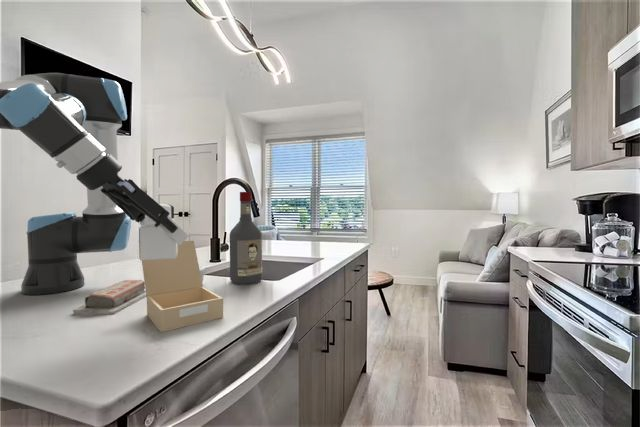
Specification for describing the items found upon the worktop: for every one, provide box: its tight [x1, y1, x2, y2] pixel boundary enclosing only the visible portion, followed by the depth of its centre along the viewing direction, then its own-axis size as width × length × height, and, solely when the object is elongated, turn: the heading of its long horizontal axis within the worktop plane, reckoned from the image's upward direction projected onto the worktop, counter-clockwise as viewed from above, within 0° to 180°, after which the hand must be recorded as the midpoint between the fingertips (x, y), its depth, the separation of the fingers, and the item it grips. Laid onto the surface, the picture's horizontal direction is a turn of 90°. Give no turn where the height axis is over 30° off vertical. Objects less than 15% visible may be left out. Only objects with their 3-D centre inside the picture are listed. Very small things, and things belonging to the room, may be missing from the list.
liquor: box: [229, 191, 263, 286], centre depth 109 cm, size 9×9×30 cm
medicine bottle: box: [138, 203, 178, 261], centre depth 73 cm, size 7×7×12 cm
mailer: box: [141, 240, 224, 333], centre depth 78 cm, size 20×13×16 cm, turn 39°
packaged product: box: [72, 279, 147, 315], centre depth 86 cm, size 18×5×10 cm
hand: (173, 238), depth 75 cm, fingers closed on medicine bottle, 9 cm apart
